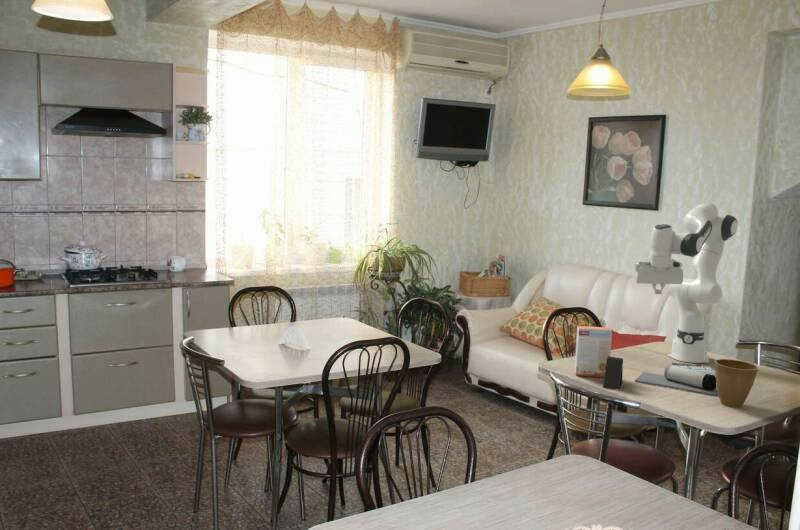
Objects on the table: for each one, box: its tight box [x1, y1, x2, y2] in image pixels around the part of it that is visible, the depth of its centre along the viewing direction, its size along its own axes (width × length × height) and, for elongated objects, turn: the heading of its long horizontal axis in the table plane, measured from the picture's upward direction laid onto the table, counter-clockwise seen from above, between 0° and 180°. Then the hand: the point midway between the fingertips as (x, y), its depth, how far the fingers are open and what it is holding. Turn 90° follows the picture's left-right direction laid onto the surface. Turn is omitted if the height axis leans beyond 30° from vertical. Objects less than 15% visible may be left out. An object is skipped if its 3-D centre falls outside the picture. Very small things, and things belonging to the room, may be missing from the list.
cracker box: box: [573, 325, 613, 378], centre depth 301 cm, size 14×6×21 cm, turn 84°
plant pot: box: [714, 358, 759, 408], centre depth 268 cm, size 15×15×16 cm
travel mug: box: [663, 364, 717, 390], centre depth 291 cm, size 6×7×20 cm
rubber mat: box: [635, 371, 719, 397], centre depth 294 cm, size 16×32×1 cm, turn 59°
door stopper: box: [602, 355, 624, 390], centre depth 286 cm, size 9×6×12 cm, turn 152°
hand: (657, 293), depth 305 cm, fingers closed
